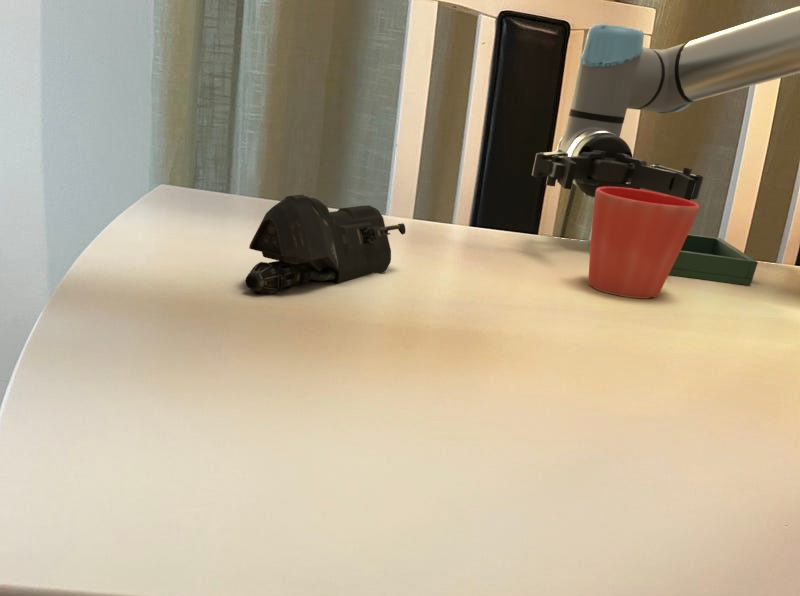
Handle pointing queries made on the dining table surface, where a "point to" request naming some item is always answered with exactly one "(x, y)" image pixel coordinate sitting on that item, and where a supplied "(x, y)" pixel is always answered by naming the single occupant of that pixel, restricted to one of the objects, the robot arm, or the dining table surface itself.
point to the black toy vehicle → (318, 244)
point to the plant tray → (713, 261)
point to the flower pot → (636, 239)
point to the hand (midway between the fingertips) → (629, 184)
